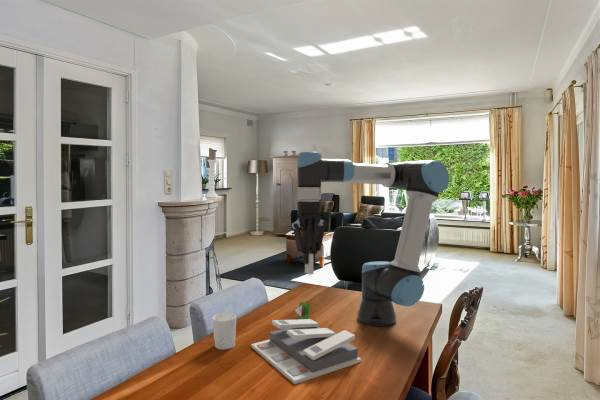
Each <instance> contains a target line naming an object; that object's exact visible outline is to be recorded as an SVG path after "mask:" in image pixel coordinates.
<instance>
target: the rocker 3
mask: <svg viewBox="0 0 600 400" xmlns="http://www.w3.org/2000/svg"><path fill="white" fill-rule="evenodd" d="M355 339H356V335H355V334H353V333H352V332H349V331H347V330H346V329H344V330H342V331H340V332H338V333H336V334H335V335H333V336H331V337H329V338H327V339H325V340H323V341H321V342H319V343H317V344H315V345H313V346H311V347H309V348H307V349H305V350H303V352H304V354H305V355H306V356H308V357H309V358H310V359H312V360H315V359H317V358H319V357H321V356H323V355H325V354H327V353H329V352H331V351H333V350H335V349H336V348H338V347H340V346H342V345H344V344H346V343H350V342H352V341H354V340H355Z"/></svg>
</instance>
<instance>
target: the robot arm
mask: <svg viewBox="0 0 600 400" xmlns="http://www.w3.org/2000/svg"><path fill="white" fill-rule="evenodd" d="M296 168H297V200H298V201H297V217H296V220H295V221H294V222H291V223H290V228H291V229H292V230H293V235H294V239H295V245H296V248H297V252H299V253H301V254H302V263H303V264H304V274H307V275H314V264H315V263H316V255H317V254H318V252H320V251H321V249H322V245H323V240H324V239H323V238H324V236H325V235H324V234H325V229H326V226H327V225H328V222H327V220H326V221H325V220H324V219H322V216H321V212H322V202H321V199H322V183H346V184H362V185H363V184H367V185H381V186H383V187H384V188H393V189H399V190H403V191H405V194H406V195H407V196H408V201H407V205H406V207H405V208H406V209H405V213H404V217H403V220H402V221H403V222H402V226H401V229H400V233H399V234H400V235H399V239H398V242H397V247H396V251H395V254H394V259H393V260H392V261H385V260H384V261H381V260H380V261H369V262H365V263H363V265H362V267H361V302H360V305H359V309H358V310H357V316H356V317H357V320H358V321H359V323H362V324H364V325H367V326H374V327H385V326H387V327H388V326H392V325H393V324H395V323H396V321H397V315H396V311H395V308H394V305H393V303H394V304H395V305H399V306H403V307H411V306H414V305H415V304H417V303H418V302H419V301H420V300H421V298H422V297H423V295H424V293H425V284H424V281H423V279H422V278H421V272H422V270H420V266H419V263H420V258H421V253H422V250H423V245H424V242H425V236H426V233H427V227H428V223H429V219H430V216H431V211H432V206H433V203H434V202H436V201H438V199H439V196H440V193H442V192H445V191H446V189H447V188H448V185H449V182H450V173H449V170H448V169H447V166H446V165H445V164H444V163H443V162H442V161H440V160H436V159H435V160H434V159H433V160H432V159H426V160H425V159H423V160H409V161H408V160H407V161H401V162H385V163H384V164H373V163H372V164H371V163H356V162H353V161H352V160H350V159H344V158H323V157H322V154H321V152H319V151H301V152H300V153H299V154H298V155H297V165H296Z"/></svg>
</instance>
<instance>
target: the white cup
mask: <svg viewBox="0 0 600 400" xmlns="http://www.w3.org/2000/svg"><path fill="white" fill-rule="evenodd" d="M212 327H213V329H212V330H213V340H214V348H216V349H217V350H223V351H224V350H229V349H232V348H234V347H235V346H236V334H237V315H236V314H235V313H232V312H221V313H217V314H215V315H213V316H212Z"/></svg>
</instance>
